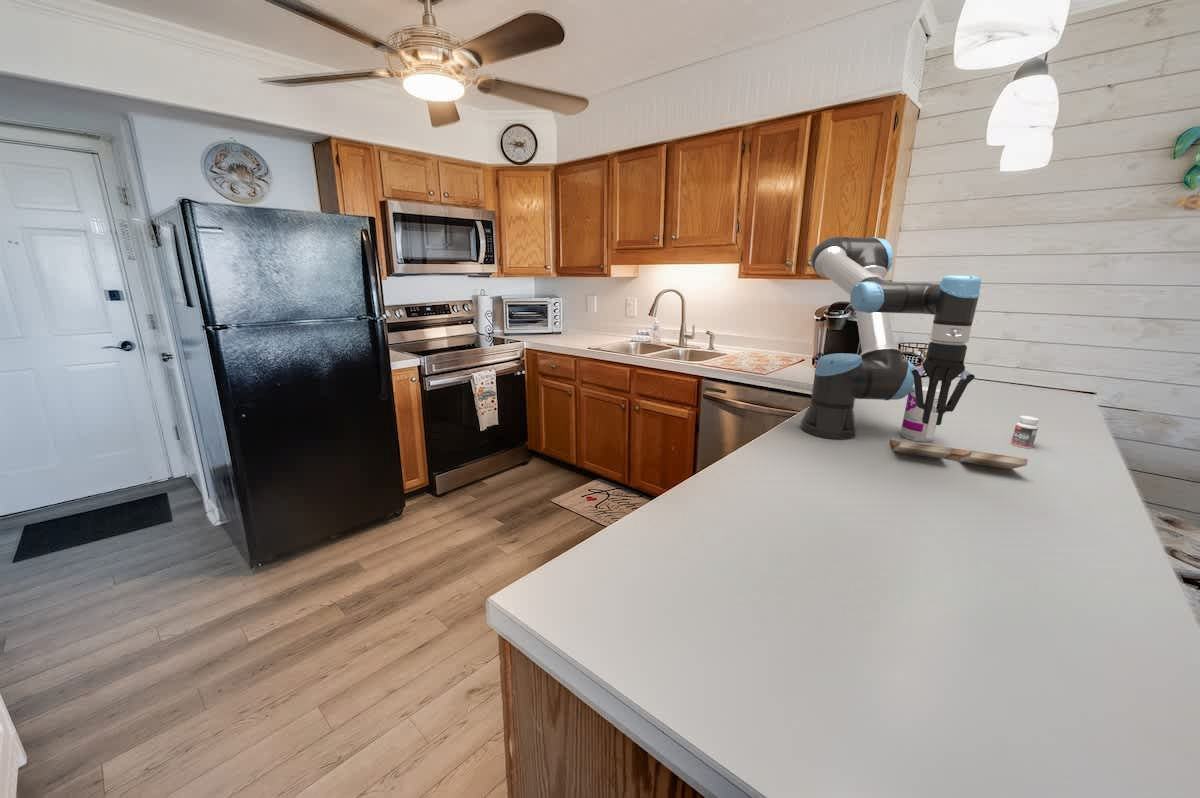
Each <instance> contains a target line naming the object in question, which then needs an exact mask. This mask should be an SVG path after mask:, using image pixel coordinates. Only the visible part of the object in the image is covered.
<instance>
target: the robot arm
mask: <svg viewBox="0 0 1200 798" xmlns="http://www.w3.org/2000/svg"><path fill="white" fill-rule="evenodd" d="M810 256H811V257H810V264H811V268H812V269H813V271H814V272H815V273H816V274H817V275H819V276H820V277H821V278H828V279H829V280H830V281H832V282H833V283H834V284H835V285H837V286H838V287H840V289H841V290H843V291H844V292H845V293H847V294H848V295H849V297H850V299H849V302H850V304H851V308H852V309H853V310H854V311H855V316H856V317H855V318H856V321H857V322H856V323H857V327H858V335H859V342H860V346H861V347H860V348H861V353H860V354H856V353H850V352H849V353H843V352H841V353H839V352H838V353H829V354H825V355H822V356H821V357H819V358H818V359H817V362H816V366H815V369H814V378H813V383H812V385H813V386H812V392H811V397H810V398H811V399H810V404H809V406H808V408H807V410H806V411H805V414H804V415H803V417H802V419H801V424H800V429H802V431H804V432H805V433H808V434H810V435H812V436H813V435H814V436H816V437H820V438H824V439H832V440H833V439H834V440H848V439H853V438H854V437H856V434H857V423H856V418H855V412H854V407H855V402H856V399H857V400H879V401H880V400H881V401H882V400H883V401H892V400H893V401H894V400H901V399H904V398H905V397H908V394H909V392H910V391H911V389H912V387H913V386H915V396H916V405H917V406H918V407H919V408H921V409H923V410H924V412H923V417H922V422H923V423H924V424H926V426H925V431H924V436H925V437H926V438H932V440H934V437H933V436H935V433H934V431H935V432H936V428H937V426H941V425H942V421H943V416H944V414H945V413H947V412H953V411H954V410H955V408H956V407H957V405H958V403H959V401H960V399H961V398H962V396H963V394H964V392H965V389H966V388H967V386H968V384H970V383H971V382H972V381H973V380H974V379H975V377H976V376H975V374H973V373H971V372H969V371H968V370H966V365H965V358H966V354H967V351H968V350H967V349H968V346H967V343H968V342H969V340H970V336H971V330H972V326H973V321H974V318H975V314H976V309H977V306H978V305H977V304H978V301H979V297H980V294H981V293H980V290H981V282H982V279H981V278H980V277H979V276H976V275H945V276H943V277H942V278H941V282H940V283H931V282H892V281H891V282H888V281H885V280H884V279H885V278H886V277H887V275H888V273H889V271H890V269H891V267H892V265H893V261H892V260H893V259H894V251H893V247H892V245H891V244H890V242H888V240H887V239H885V238H879V237H874V236H869V237H856V236H855V237H853V236H851V237H849V236H833V237H830V238H826V239H825V240H823V241H821V242H820V243H818V245H816V246H815V248H814V249H813V251H812V253H811V255H810ZM890 314H918V315H920V314H922V315H931V316H933V322H932V327H931V332H930V335H929V340H931V341H930V342H928V346H927V352H926V356H925V359H924V360H923V362H922V363H921V365H920V366H917V367H915V365H914V364H913V363H912V361H910V360H907V359H904V356H903V351H902V350H901V349H900V348H897V347H895V346H896V345H895V341H894V336H893V330H892V324H891V319H890ZM923 371H924V372H925V374H926V376H927V378H928V379H929V381H928V386H927V387H928V390H927V395H926V400H925V404H924V402H923V391H922V386H923V380H922V376H923V375H924V373H923ZM957 377H959V378H960V379H959V380H958V382H957V384H956V386H955V388H954V390H953V392H952V393H951V396H950V397H949V391H950V387H951V385H952V381H953V380H955V379H956V378H957ZM940 381H941V382H940ZM939 382H940V383H941V385H940V388H939V389H940V393H939V398H938V403H937V407H936V409H937V410H936V411H935V410H932V407H933V402H934V397H935V393H936V388H937V387H938V385H939ZM937 389H938V388H937ZM948 397H949V399H948ZM947 400H948V401H947ZM935 427H936V428H935Z"/></svg>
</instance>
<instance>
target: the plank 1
mask: <svg viewBox="0 0 1200 798" xmlns="http://www.w3.org/2000/svg"><path fill="white" fill-rule="evenodd" d="M899 441H900V443H898V444H897V445H895V446H894V447H893V451H892V452H897V453H901V454H902V453H903V454H909V455H915V456H923V457H929V458H937V459H944V458H943V457H946V456H948V455H950V454H951V449H952V448H953V447H948V446H941V447H940V446H939V445H934V446H932V444H927V445H925V444H926V443H925V444H924V443H919V444H918V442H912V441H905V440H899ZM904 441H905V442H904ZM911 442H912V443H911ZM947 447H948V448H947Z"/></svg>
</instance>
